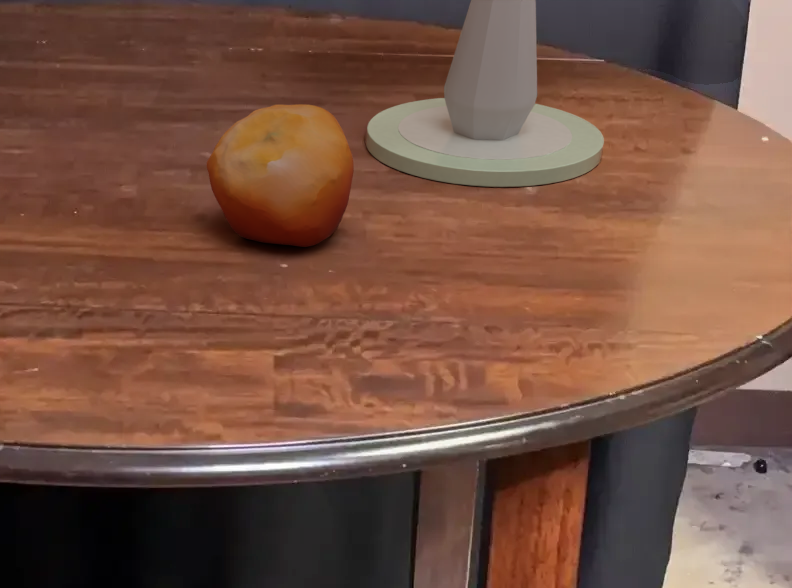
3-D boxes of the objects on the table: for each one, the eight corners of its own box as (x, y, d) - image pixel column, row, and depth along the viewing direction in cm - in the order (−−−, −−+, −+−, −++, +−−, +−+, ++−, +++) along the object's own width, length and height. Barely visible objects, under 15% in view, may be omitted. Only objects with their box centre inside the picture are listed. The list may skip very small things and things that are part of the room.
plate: (589, 116, 103) (592, 100, 102) (613, 192, 91) (616, 175, 90) (368, 107, 105) (369, 91, 104) (362, 181, 93) (364, 164, 92)
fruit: (389, 190, 87) (370, 87, 80) (333, 298, 85) (308, 201, 78) (265, 166, 91) (236, 66, 84) (208, 269, 89) (173, 174, 82)
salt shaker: (423, 122, 99) (446, -95, 91) (499, 112, 100) (528, -103, 93) (470, 149, 94) (499, -77, 87) (548, 138, 96) (584, -85, 88)
